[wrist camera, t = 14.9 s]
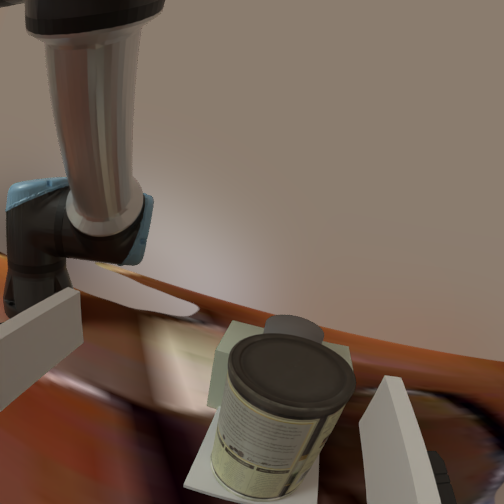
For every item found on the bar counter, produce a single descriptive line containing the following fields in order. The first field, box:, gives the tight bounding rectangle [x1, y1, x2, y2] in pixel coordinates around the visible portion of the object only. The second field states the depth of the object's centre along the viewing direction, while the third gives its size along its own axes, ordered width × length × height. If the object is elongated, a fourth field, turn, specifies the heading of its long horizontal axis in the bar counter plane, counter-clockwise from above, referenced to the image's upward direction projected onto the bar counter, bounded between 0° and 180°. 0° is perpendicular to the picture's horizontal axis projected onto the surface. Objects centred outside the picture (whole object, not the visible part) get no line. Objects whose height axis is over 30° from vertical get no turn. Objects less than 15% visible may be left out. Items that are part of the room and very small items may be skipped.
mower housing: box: [183, 315, 353, 504], centre depth 30 cm, size 21×16×12 cm
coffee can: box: [210, 333, 356, 502], centre depth 24 cm, size 10×10×14 cm
